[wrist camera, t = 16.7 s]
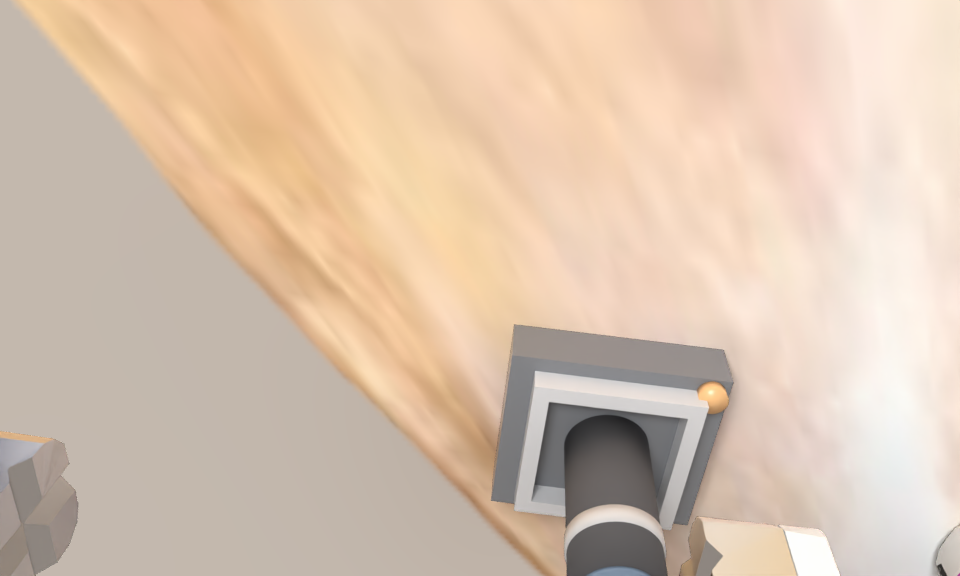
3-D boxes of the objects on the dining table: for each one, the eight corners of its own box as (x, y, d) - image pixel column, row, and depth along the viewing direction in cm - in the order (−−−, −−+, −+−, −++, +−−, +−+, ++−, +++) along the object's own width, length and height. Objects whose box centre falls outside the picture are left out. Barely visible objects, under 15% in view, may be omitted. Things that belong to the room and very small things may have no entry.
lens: (657, 418, 46) (682, 569, 38) (641, 482, 49) (661, 636, 40) (568, 409, 46) (572, 558, 38) (557, 473, 49) (559, 626, 41)
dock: (723, 349, 47) (738, 398, 44) (680, 489, 53) (690, 543, 49) (514, 324, 48) (511, 370, 44) (494, 466, 53) (489, 517, 50)
